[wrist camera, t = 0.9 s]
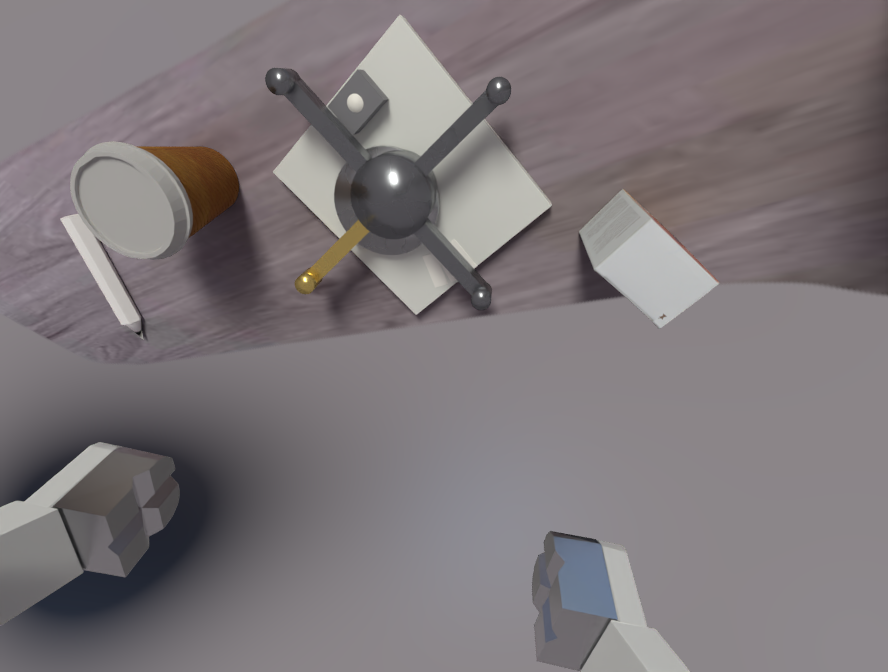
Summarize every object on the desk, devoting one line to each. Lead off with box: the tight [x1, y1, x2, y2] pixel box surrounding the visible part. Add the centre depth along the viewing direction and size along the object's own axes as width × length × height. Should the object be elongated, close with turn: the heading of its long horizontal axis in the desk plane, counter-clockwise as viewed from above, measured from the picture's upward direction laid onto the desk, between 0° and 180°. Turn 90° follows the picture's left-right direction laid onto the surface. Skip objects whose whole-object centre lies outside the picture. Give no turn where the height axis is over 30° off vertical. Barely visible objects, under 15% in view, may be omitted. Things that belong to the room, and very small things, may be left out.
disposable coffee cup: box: [70, 142, 239, 259], centre depth 41 cm, size 10×10×12 cm
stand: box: [273, 15, 552, 315], centre depth 42 cm, size 18×20×4 cm
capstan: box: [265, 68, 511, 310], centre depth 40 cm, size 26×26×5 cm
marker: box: [61, 214, 143, 339], centre depth 53 cm, size 3×2×16 cm
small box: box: [579, 189, 719, 329], centre depth 39 cm, size 8×6×10 cm
